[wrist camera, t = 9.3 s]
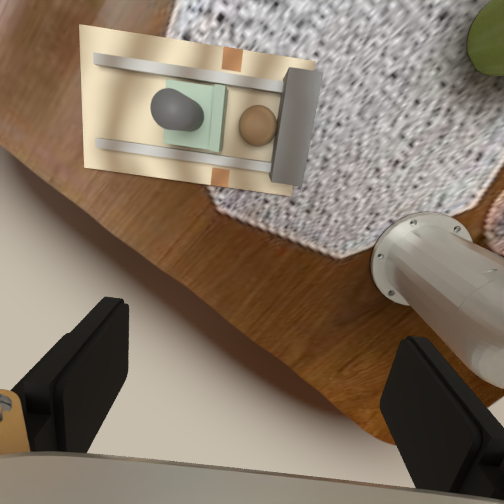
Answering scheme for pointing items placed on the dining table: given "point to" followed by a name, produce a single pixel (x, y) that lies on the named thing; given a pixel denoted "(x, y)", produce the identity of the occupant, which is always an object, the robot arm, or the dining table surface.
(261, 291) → the dining table surface
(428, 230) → the robot arm
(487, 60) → the plant pot
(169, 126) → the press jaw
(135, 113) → the press frame
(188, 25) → the dining table surface
